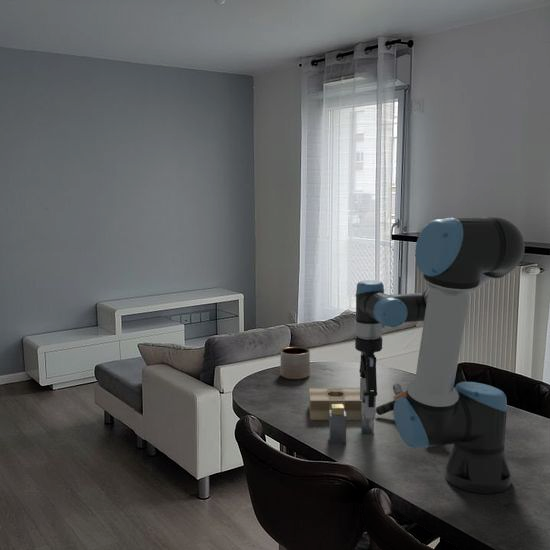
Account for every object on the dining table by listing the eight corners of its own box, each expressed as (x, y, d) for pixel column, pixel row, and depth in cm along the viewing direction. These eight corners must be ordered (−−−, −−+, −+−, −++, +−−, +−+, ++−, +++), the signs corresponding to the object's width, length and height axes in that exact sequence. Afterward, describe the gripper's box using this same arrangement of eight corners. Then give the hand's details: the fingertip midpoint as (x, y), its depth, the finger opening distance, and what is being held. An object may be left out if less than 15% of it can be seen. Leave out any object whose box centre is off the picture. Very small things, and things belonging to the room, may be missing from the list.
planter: (278, 379, 234) (278, 353, 232) (282, 370, 244) (282, 346, 243) (308, 380, 232) (308, 355, 230) (311, 372, 242) (311, 347, 241)
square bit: (346, 443, 177) (346, 408, 175) (330, 443, 177) (330, 408, 176) (344, 437, 181) (345, 403, 180) (329, 437, 181) (329, 403, 180)
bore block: (363, 419, 194) (363, 400, 193) (310, 419, 195) (310, 400, 194) (359, 405, 206) (359, 387, 205) (309, 405, 206) (309, 387, 206)
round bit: (374, 434, 183) (375, 394, 181) (361, 434, 183) (362, 393, 181) (372, 429, 187) (373, 389, 185) (360, 429, 187) (361, 389, 185)
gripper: (389, 348, 168) (387, 425, 172) (376, 325, 193) (374, 393, 196) (360, 348, 168) (358, 425, 172) (351, 325, 193) (349, 393, 197)
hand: (367, 408), depth 184 cm, fingers open, 13 cm apart
